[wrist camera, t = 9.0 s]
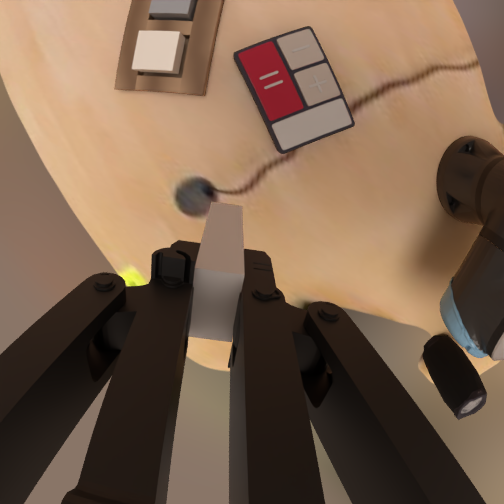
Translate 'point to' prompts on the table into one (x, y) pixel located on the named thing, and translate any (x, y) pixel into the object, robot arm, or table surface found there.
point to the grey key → (173, 9)
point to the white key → (158, 51)
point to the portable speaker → (454, 376)
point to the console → (193, 57)
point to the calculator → (294, 89)
